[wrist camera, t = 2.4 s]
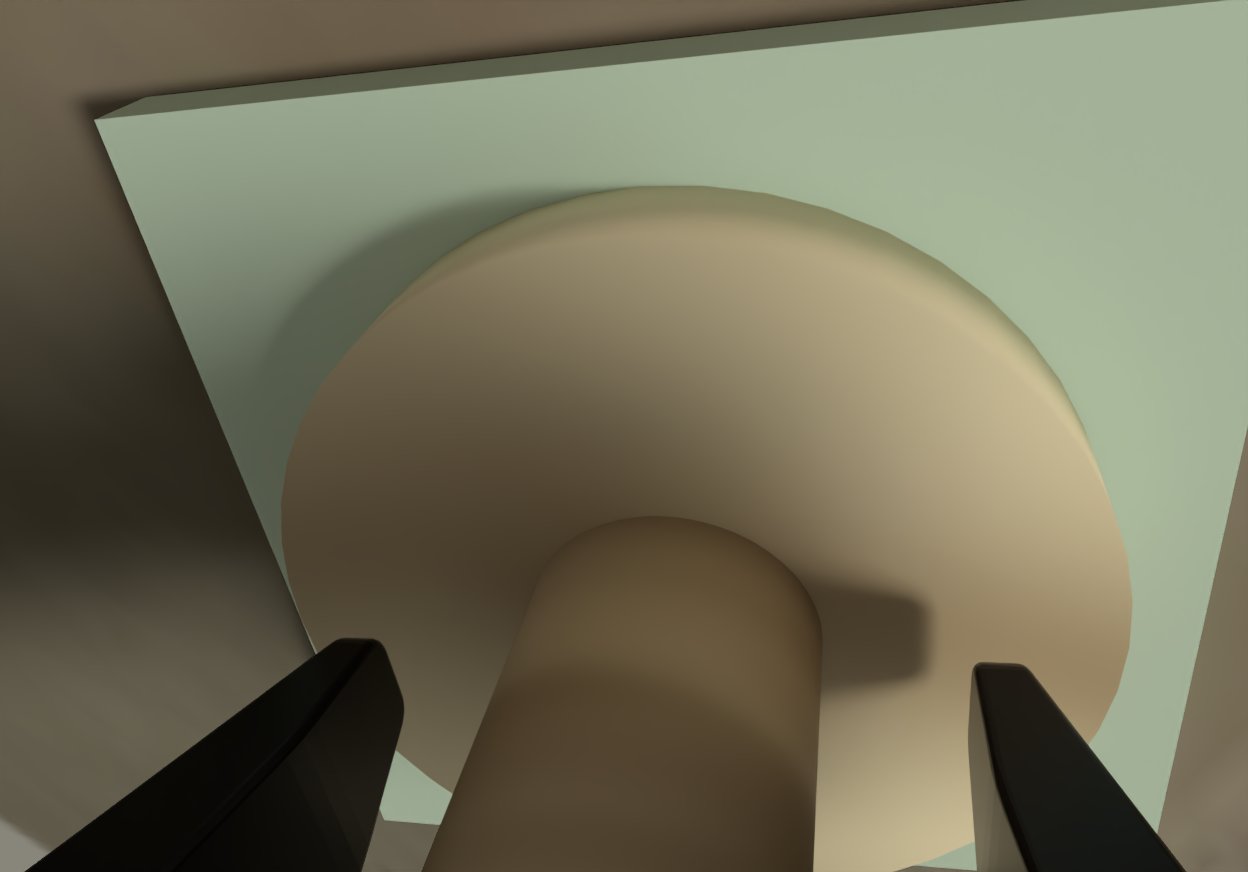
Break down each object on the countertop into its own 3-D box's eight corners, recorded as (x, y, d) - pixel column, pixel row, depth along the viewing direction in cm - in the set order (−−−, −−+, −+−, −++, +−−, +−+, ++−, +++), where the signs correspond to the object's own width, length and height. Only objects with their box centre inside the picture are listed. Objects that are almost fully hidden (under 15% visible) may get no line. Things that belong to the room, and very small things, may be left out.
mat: (1130, 827, 13) (1145, 885, 12) (404, 774, 15) (384, 820, 14) (1301, -31, 7) (1344, -13, 7) (145, 97, 10) (94, 119, 9)
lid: (1063, 824, 12) (1175, 1389, 8) (431, 777, 14) (248, 1208, 9) (1160, 146, 7) (1528, 588, 3) (229, 215, 9) (-259, 552, 5)
